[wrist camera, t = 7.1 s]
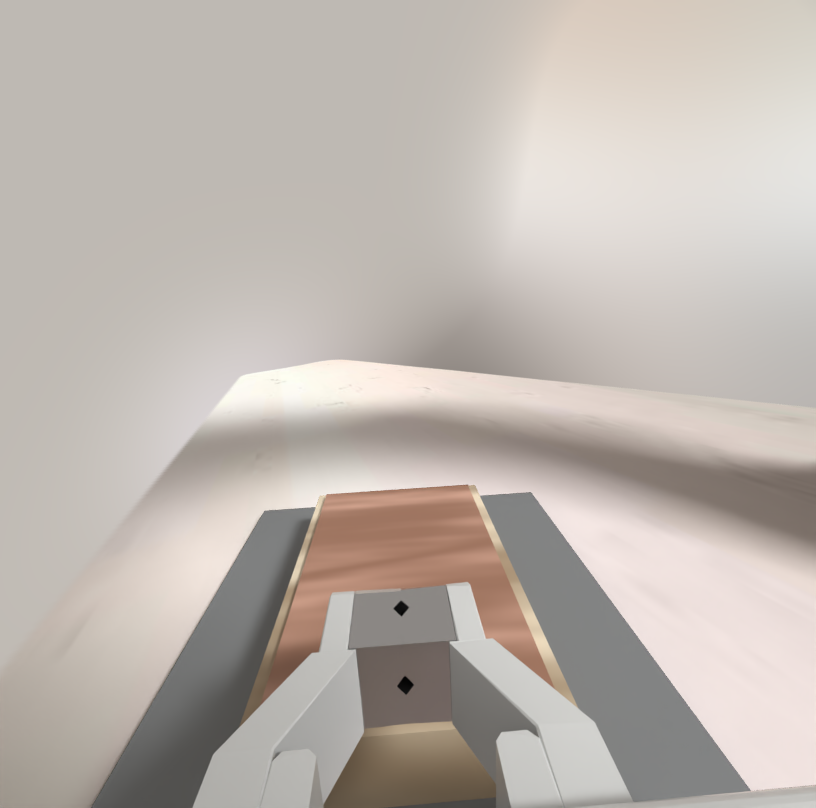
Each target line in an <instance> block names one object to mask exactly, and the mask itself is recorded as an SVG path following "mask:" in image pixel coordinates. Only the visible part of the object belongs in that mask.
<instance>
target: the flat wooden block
mask: <svg viewBox="0 0 816 808" xmlns="http://www.w3.org/2000/svg"><path fill="white" fill-rule="evenodd" d="M462 582H468V583H469V584H470V586H471V589H472V593H473V596H474V600H475V603H476V606H477V610H478V613H479V617H480V620H481V624H482V627H483V631H484V634H485V638H486V639H491V638H493V639H494V640H496V641H497V642H498V643H499V644H500V645H502V646H503V647H504V648H505V649H507V650H508V651H509V652H510V653H511V654H513V655H514V656H515V657H516V658H517V659H519V660H520V661H521V662H522V663H524V664H525V665H526V666H527V667H528V668H530V669H531V670H532V671H533V672H534V673H536V674H537V675H538V676H539V677H541V678H542V679H543V680H544V681H545V682H547V683H548V684H549V685H550V686H551V687H553V688H554V689H555V690H556V691H558V692H559V693H560V694H561V695H562V696H564V697H565V698H566V699H567V700H568V701H570V702H571V703H572V704H573V705H575V706H576V707H577V708H578V706H577V704H576V702H575V700H574V698H573V696H572V693H571V691H570V689H569V687H568V685H567V683H566V680H565V678H564V676H563V674H562V672H561V670H560V668H559V665H558V663H557V661H556V659H555V657H554V655H553V652H552V650H551V648H550V646H549V644H548V642H547V640H546V637H545V635H544V633H543V631H542V629H541V627H540V624H539V622H538V620H537V618H536V616H535V614H534V612H533V609H532V607H531V605H530V603H529V601H528V599H527V596H526V594H525V592H524V590H523V588H522V586H521V583H520V581H519V579H518V577H517V575H516V573H515V571H514V568H513V566H512V564H511V562H510V560H509V558H508V555H507V553H506V551H505V549H504V547H503V545H502V543H501V540H500V538H499V536H498V534H497V532H496V530H495V527H494V525H493V523H492V521H491V519H490V517H489V514H488V512H487V510H486V508H485V506H484V504H483V502H482V499H481V497H480V495H479V493H478V491H477V489H476V486H475V485H471V486H468V485H457V486H442V487H428V488H413V489H399V490H384V491H370V492H355V493H341V494H327V495H326V496H320V497H319V499H318V502H317V505H316V508H315V511H314V514H313V517H312V519H311V522H310V525H309V528H308V531H307V534H306V537H305V540H304V542H303V545H302V548H301V551H300V554H299V557H298V560H297V563H296V565H295V568H294V571H293V574H292V577H291V580H290V583H289V585H288V588H287V591H286V594H285V597H284V600H283V603H282V606H281V608H280V611H279V614H278V617H277V620H276V623H275V626H274V629H273V631H272V634H271V637H270V640H269V643H268V646H267V649H266V651H265V654H264V657H263V660H262V663H261V666H260V669H259V672H258V674H257V677H256V680H255V683H254V686H253V689H252V692H251V695H250V697H249V700H248V703H247V706H246V709H245V712H244V715H243V717H242V720H241V723H240V726H241V725H242V724H243V723H244V722H245V721H246V720H247V719H248V718H249V717H250V716H251V715H252V714H253V713H254V712H255V711H256V710H257V709H258V708H259V707H260V706H261V705H262V704H263V702H264V701H265V700H266V699H267V698H268V697H269V696H270V695H271V694H272V693H273V692H274V691H275V690H276V689H277V688H278V687H279V686H280V685H281V684H282V683H283V682H284V681H285V680H286V679H287V678H288V677H289V676H290V675H291V674H292V673H293V672H294V671H295V669H296V668H297V667H298V666H299V665H300V664H301V663H302V662H303V661H304V660H305V659H306V658H307V657H308V656H309V655H310V654H311V653H317V652H319V648H320V643H321V638H322V633H323V628H324V623H325V618H326V613H327V608H328V603H329V598H330V596H331V594H332V593H333V592H347V591H355V592H356V591H361V590H379V589H398V588H401V589H403V588H415V587H428V586H440V585H446V584H452V583H462ZM240 726H239V727H240ZM494 797H496V783H495V782H494V781H493V779H492V778H491V777H490V775H489V774H488V772H487V771H486V770H485V768H484V767H483V765H482V764H481V763H480V761H479V760H478V759H477V757H476V756H475V754H474V753H473V752H472V750H471V749H470V747H469V746H468V745H467V743H466V742H465V740H464V739H463V738H462V736H461V735H460V734H459V732H458V731H457V729H456V728H455V727H454V725H453V724H452V721H448V722H430V723H411V724H401V725H392V726H384V727H376V728H367V729H364V733H363V735H362V737H361V739H360V740H359V742H358V744H357V746H356V748H355V749H354V751H353V753H352V755H351V756H350V758H349V760H348V762H347V763H346V765H345V767H344V769H343V771H342V772H341V774H340V776H339V778H338V779H337V781H336V783H335V785H334V787H333V788H332V790H331V792H330V794H329V795H328V797H327V799H326V801H325V803H324V804H323V807H324V808H386V807H397V806H408V805H418V804H429V803H440V802H451V801H462V800H473V799H484V798H494Z"/></svg>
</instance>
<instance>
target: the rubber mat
mask: <svg viewBox="0 0 816 808" xmlns="http://www.w3.org/2000/svg"><path fill="white" fill-rule="evenodd" d="M480 497H481V499H482V502H483V504H484V506H485V508H486V510H487V512H488V514H489V517H490V519H491V521H492V523H493V525H494V527H495V530H496V532H497V534H498V536H499V538H500V540H501V543H502V545H503V547H504V549H505V551H506V553H507V555H508V558H509V560H510V562H511V564H512V566H513V568H514V571H515V573H516V575H517V577H518V579H519V581H520V583H521V586H522V588H523V590H524V592H525V594H526V596H527V599H528V601H529V603H530V605H531V607H532V609H533V612H534V614H535V616H536V618H537V620H538V622H539V624H540V627H541V629H542V631H543V633H544V635H545V637H546V640H547V642H548V644H549V646H550V648H551V650H552V652H553V655H554V657H555V659H556V661H557V663H558V665H559V668H560V670H561V672H562V674H563V676H564V678H565V680H566V683H567V685H568V687H569V689H570V691H571V693H572V696H573V698H574V700H575V702H576V704H577V706H578V709H579V710H581V711H582V712H583V713H584V714H585V715H587V716H588V717H589V718H590V719H592V720H593V721H594V722H595V724H596V726H597V728H598V730H599V732H600V734H601V736H602V738H603V740H604V742H605V744H606V746H607V748H608V750H609V752H610V755H611V757H612V759H613V761H614V763H615V765H616V767H617V769H618V771H619V773H620V775H621V777H622V779H623V781H624V783H625V785H626V787H627V790H628V792H629V794H630V796H631V798H632V800H633V802H638V801H648V800H659V799H670V798H681V797H692V796H702V795H713V794H724V793H735V792H746V791H751V790H750V789H749V788H748V786H747V785H746V784H745V782H744V781H743V780H742V778H741V777H740V775H739V774H738V773H737V771H736V770H735V769H734V767H733V766H732V765H731V763H730V762H729V761H728V759H727V758H726V756H725V755H724V754H723V752H722V751H721V750H720V748H719V747H718V746H717V744H716V743H715V742H714V740H713V739H712V737H711V736H710V735H709V733H708V732H707V731H706V729H705V728H704V727H703V725H702V724H701V723H700V721H699V720H698V718H697V717H696V716H695V714H694V713H693V712H692V710H691V709H690V708H689V706H688V705H687V703H686V702H685V701H684V699H683V698H682V697H681V695H680V694H679V693H678V691H677V690H676V689H675V687H674V686H673V684H672V683H671V682H670V680H669V679H668V678H667V676H666V675H665V674H664V672H663V671H662V670H661V668H660V667H659V665H658V664H657V663H656V661H655V660H654V659H653V657H652V656H651V655H650V653H649V652H648V651H647V649H646V648H645V646H644V645H643V644H642V642H641V641H640V640H639V638H638V637H637V636H636V634H635V633H634V632H633V630H632V629H631V627H630V626H629V625H628V623H627V622H626V621H625V619H624V618H623V617H622V615H621V614H620V613H619V611H618V610H617V608H616V607H615V606H614V604H613V603H612V602H611V600H610V599H609V598H608V596H607V595H606V594H605V592H604V591H603V589H602V588H601V587H600V585H599V584H598V583H597V581H596V580H595V579H594V577H593V576H592V574H591V573H590V572H589V570H588V569H587V568H586V566H585V565H584V564H583V562H582V561H581V560H580V558H579V557H578V555H577V554H576V553H575V551H574V550H573V549H572V547H571V546H570V545H569V543H568V542H567V541H566V539H565V538H564V536H563V535H562V534H561V532H560V531H559V530H558V528H557V527H556V526H555V524H554V523H553V522H552V520H551V519H550V517H549V516H548V515H547V513H546V512H545V511H544V509H543V508H542V507H541V505H540V504H539V503H538V501H537V500H536V498H535V497H534V496H533V494H532V493H531V492H528V493H513V494H499V495H485V496H480ZM315 508H316V507H312V508H298V509H284V510H269V511H264V513H263V514H262V516H261V518H260V520H259V521H258V523H257V525H256V526H255V528H254V530H253V532H252V533H251V535H250V537H249V538H248V540H247V542H246V543H245V545H244V547H243V549H242V550H241V552H240V554H239V555H238V557H237V559H236V561H235V562H234V564H233V566H232V567H231V569H230V571H229V573H228V574H227V576H226V578H225V579H224V581H223V583H222V585H221V586H220V588H219V590H218V591H217V593H216V595H215V597H214V598H213V600H212V602H211V603H210V605H209V607H208V609H207V610H206V612H205V614H204V615H203V617H202V619H201V621H200V622H199V624H198V626H197V627H196V629H195V631H194V633H193V634H192V636H191V638H190V639H189V641H188V643H187V645H186V646H185V648H184V650H183V651H182V653H181V655H180V657H179V658H178V660H177V662H176V663H175V665H174V667H173V669H172V670H171V672H170V674H169V675H168V677H167V679H166V680H165V682H164V684H163V686H162V687H161V689H160V691H159V692H158V694H157V696H156V698H155V699H154V701H153V703H152V704H151V706H150V708H149V710H148V711H147V713H146V715H145V716H144V718H143V720H142V722H141V723H140V725H139V727H138V728H137V730H136V732H135V734H134V735H133V737H132V739H131V740H130V742H129V744H128V746H127V747H126V749H125V751H124V752H123V754H122V756H121V758H120V759H119V761H118V763H117V764H116V766H115V768H114V770H113V771H112V773H111V775H110V776H109V778H108V780H107V782H106V783H105V785H104V787H103V788H102V790H101V792H100V794H99V795H98V797H97V799H96V800H95V802H94V804H93V806H92V807H91V808H193V805H194V802H195V800H196V797H197V795H198V792H199V790H200V787H201V784H202V782H203V779H204V777H205V774H206V772H207V769H208V767H209V764H210V761H211V759H212V756H213V754H214V753H215V752H216V751H217V750H218V749H219V748H220V747H221V746H222V745H223V744H224V743H225V742H226V741H227V740H228V739H229V738H230V737H231V735H232V734H233V733H234V732H235V731H236V730H237V729H238V728H239V726H240V723H241V720H242V717H243V715H244V712H245V709H246V706H247V703H248V700H249V697H250V695H251V692H252V689H253V686H254V683H255V680H256V677H257V674H258V672H259V669H260V666H261V663H262V660H263V657H264V654H265V651H266V649H267V646H268V643H269V640H270V637H271V634H272V631H273V629H274V626H275V623H276V620H277V617H278V614H279V611H280V608H281V606H282V603H283V600H284V597H285V594H286V591H287V588H288V585H289V583H290V580H291V577H292V574H293V571H294V568H295V565H296V563H297V560H298V557H299V554H300V551H301V548H302V545H303V542H304V540H305V537H306V534H307V531H308V528H309V525H310V522H311V519H312V517H313V514H314V511H315ZM386 808H496V797H494V798H484V799H473V800H462V801H451V802H440V803H429V804H418V805H408V806H397V807H386Z"/></svg>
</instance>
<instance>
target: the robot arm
mask: <svg viewBox="0 0 816 808" xmlns="http://www.w3.org/2000/svg"><path fill="white" fill-rule="evenodd" d="M448 721H452V724H453V725H454V727H455V728H456V729H457V731H458V732H459V734H460V735H461V736H462V738H463V739H464V740H465V742H466V743H467V745H468V746H469V747H470V749H471V750H472V752H473V753H474V754H475V756H476V757H477V759H478V760H479V761H480V763H481V764H482V765H483V767H484V768H485V770H486V771H487V772H488V774H489V775H490V777H491V778H492V779H493V781H494V782H495V783H496V808H816V785H811V786H800V787H789V788H778V789H767V790H757V791H746V792H735V793H724V794H713V795H702V796H692V797H681V798H670V799H659V800H648V801H638V802H633V800H632V798H631V796H630V794H629V792H628V790H627V787H626V785H625V783H624V781H623V779H622V777H621V775H620V773H619V771H618V769H617V767H616V765H615V763H614V761H613V759H612V757H611V755H610V752H609V750H608V748H607V746H606V744H605V742H604V740H603V738H602V736H601V734H600V732H599V730H598V728H597V726H596V724H595V722H594V721H593V720H592V719H590V718H589V717H588V716H587V715H585V714H584V713H583V712H582V711H581V710H579V709H578V708H577V707H576V706H575V705H573V704H572V703H571V702H570V701H568V700H567V699H566V698H565V697H564V696H562V695H561V694H560V693H559V692H558V691H556V690H555V689H554V688H553V687H551V686H550V685H549V684H548V683H547V682H545V681H544V680H543V679H542V678H541V677H539V676H538V675H537V674H536V673H534V672H533V671H532V670H531V669H530V668H528V667H527V666H526V665H525V664H524V663H522V662H521V661H520V660H519V659H517V658H516V657H515V656H514V655H513V654H511V653H510V652H509V651H508V650H507V649H505V648H504V647H503V646H502V645H500V644H499V643H498V642H497V641H496V640H494V639H493V638H491V639H486V638H485V634H484V631H483V627H482V624H481V620H480V617H479V613H478V610H477V606H476V603H475V600H474V596H473V593H472V589H471V586H470V584H469V583H468V582H462V583H452V584H446V585H440V586H428V587H415V588H403V589H401V588H398V589H379V590H361V591H356V592H355V591H347V592H333V593H332V594H331V596H330V598H329V603H328V608H327V613H326V618H325V623H324V628H323V633H322V638H321V643H320V648H319V652H317V653H311V654H310V655H309V656H308V657H307V658H306V659H305V660H304V661H303V662H302V663H301V664H300V665H299V666H298V667H297V668H296V669H295V671H294V672H293V673H292V674H291V675H290V676H289V677H288V678H287V679H286V680H285V681H284V682H283V683H282V684H281V685H280V686H279V687H278V688H277V689H276V690H275V691H274V692H273V693H272V694H271V695H270V696H269V697H268V698H267V699H266V700H265V701H264V702H263V704H262V705H261V706H260V707H259V708H258V709H257V710H256V711H255V712H254V713H253V714H252V715H251V716H250V717H249V718H248V719H247V720H246V721H245V722H244V723H243V724H242V725H241V726H240V727H239V728H238V729H237V730H236V731H235V732H234V733H233V734H232V735H231V737H230V738H229V739H228V740H227V741H226V742H225V743H224V744H223V745H222V746H221V747H220V748H219V749H218V750H217V751H216V752H215V753H214V754H213V756H212V759H211V761H210V764H209V767H208V769H207V772H206V774H205V777H204V779H203V782H202V784H201V787H200V790H199V792H198V795H197V797H196V800H195V802H194V805H193V808H324V807H323V804H324V803H325V801H326V799H327V797H328V795H329V794H330V792H331V790H332V788H333V787H334V785H335V783H336V781H337V779H338V778H339V776H340V774H341V772H342V771H343V769H344V767H345V765H346V763H347V762H348V760H349V758H350V756H351V755H352V753H353V751H354V749H355V748H356V746H357V744H358V742H359V740H360V739H361V737H362V735H363V733H364V729H367V728H376V727H384V726H392V725H401V724H411V723H430V722H448Z"/></svg>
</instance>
